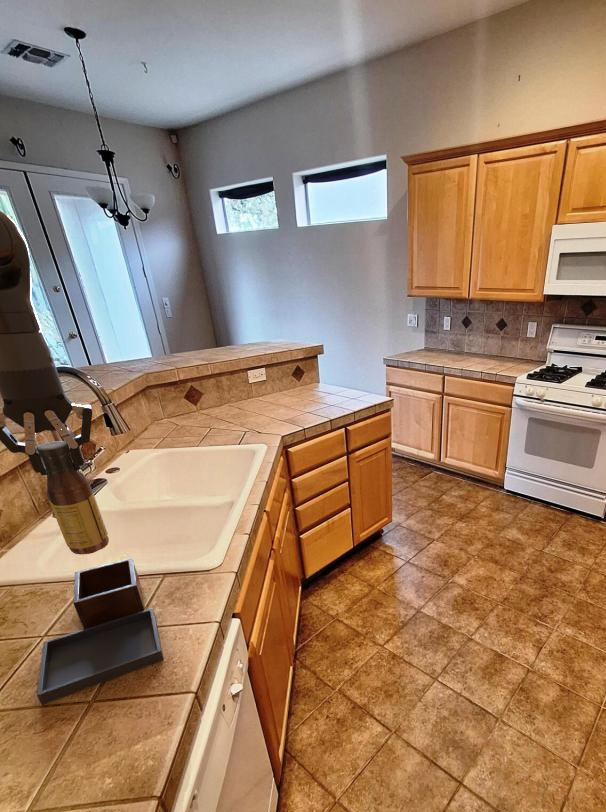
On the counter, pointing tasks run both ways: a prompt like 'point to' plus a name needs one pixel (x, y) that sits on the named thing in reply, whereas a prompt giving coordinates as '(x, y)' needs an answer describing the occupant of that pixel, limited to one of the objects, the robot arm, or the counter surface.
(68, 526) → the sauce bottle
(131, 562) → the caddy
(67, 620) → the counter surface
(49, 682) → the tray
